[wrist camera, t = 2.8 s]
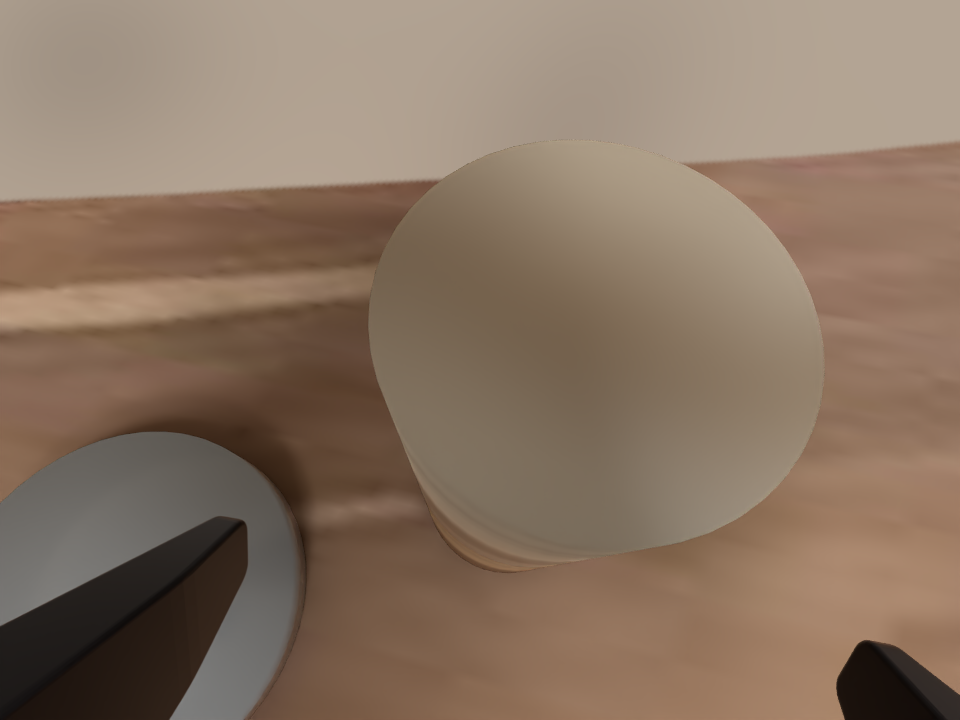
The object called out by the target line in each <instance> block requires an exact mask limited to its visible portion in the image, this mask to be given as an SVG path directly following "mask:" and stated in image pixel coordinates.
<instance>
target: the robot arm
mask: <svg viewBox="0 0 960 720" xmlns="http://www.w3.org/2000/svg"><path fill="white" fill-rule="evenodd" d="M247 568H248V530H247V525H246V523H245V521H243V520H241V519H236V518H231V517H225V516H216V517H214V518H211V519H209V520H207V521H205V522H203V523H201V524H200V525H198V526H196V527H194V528H192V529H190V530H188V531H186V532H184V533H182V534H180V535H178V536H176V537H174V538H172V539H170V540H168V541H166V542H164V543H162V544H160V545H158V546H156V547H154V548H152V549H150V550H148V551H146V552H145V553H143V554H141V555H139V556H137V557H135V558H133V559H131V560H129V561H127V562H125V563H123V564H121V565H119V566H117V567H115V568H113V569H111V570H109V571H107V572H105V573H103V574H101V575H99V576H97V577H95V578H93V579H91V580H89V581H88V582H86V583H84V584H82V585H80V586H78V587H76V588H74V589H72V590H70V591H68V592H66V593H64V594H62V595H60V596H58V597H56V598H54V599H52V600H50V601H48V602H46V603H44V604H42V605H40V606H38V607H36V608H34V609H33V610H31V611H29V612H27V613H25V614H23V615H21V616H19V617H17V618H15V619H13V620H11V621H9V622H7V623H5V624H3V625H1V626H0V720H170V718H171V717H172V715H173V713H174V712H175V710H176V709H177V707H178V705H179V704H180V702H181V701H182V699H183V697H184V695H185V694H186V692H187V690H188V689H189V687H190V685H191V684H192V682H193V680H194V678H195V676H196V674H197V672H198V670H199V668H200V667H201V665H202V663H203V661H204V659H205V657H206V655H207V653H208V651H209V649H210V647H211V645H212V643H213V641H214V639H215V636H216V634H217V632H218V630H219V628H220V626H221V624H222V622H223V620H224V618H225V616H226V614H227V612H228V610H229V608H230V606H231V604H232V602H233V600H234V598H235V596H236V594H237V592H238V590H239V588H240V586H241V584H242V582H243V580H244V578H245V575H246V572H247ZM836 690H837V696H838V700H839V703H840V706H841V709H842V712H843V715H844V719H845V720H960V695H959V694H958V693H956V692H955V691H954V690H952V689H951V688H950V687H949V686H947V685H946V684H945V683H943V682H942V681H941V680H940V679H938V678H937V677H936V676H934V675H933V674H932V673H931V672H929V671H928V670H927V669H926V668H924V667H923V666H922V665H920V664H919V663H918V662H917V661H915V660H914V659H913V658H911V657H910V656H909V655H908V654H906V653H905V652H904V651H902V650H901V649H900V648H898V647H896V646H894V645H891V644H886V643H881V642H875V641H870V640H864V641H862V642H860V643H858V644H857V646H856V647H855V649H854V651H853V652H852V654H851V656H850V657H849V659H848V661H847V662H846V664H845V666H844V667H843V669H842V671H841V672H840V674H839V676H838V678H837V683H836Z"/></svg>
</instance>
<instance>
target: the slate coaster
mask: <svg viewBox="0 0 960 720" xmlns="http://www.w3.org/2000/svg"><path fill="white" fill-rule="evenodd" d="M216 516H225V517H231V518H236V519H241V520H243V521H245V523H246V525H247V530H248V568H247V572H246V575H245V578H244V580H243V582H242V584H241V586H240V588H239V590H238V592H237V594H236V596H235V598H234V600H233V602H232V604H231V606H230V608H229V610H228V612H227V614H226V616H225V618H224V620H223V622H222V624H221V626H220V628H219V630H218V632H217V634H216V636H215V639H214V641H213V643H212V645H211V647H210V649H209V651H208V653H207V655H206V657H205V659H204V661H203V663H202V665H201V667H200V668H199V670H198V672H197V674H196V676H195V678H194V680H193V682H192V684H191V685H190V687H189V689H188V690H187V692H186V694H185V695H184V697H183V699H182V701H181V702H180V704H179V705H178V707H177V709H176V710H175V712H174V713H173V715H172V717H171V718H170V720H249V718H250V717H251V716H252V715H253V714H254V712H255V711H256V710H257V708H258V707H259V706H260V704H261V703H262V702H263V700H264V699H265V698H266V697H267V695H268V693H269V692H270V690H271V688H272V687H273V685H274V683H275V682H276V680H277V678H278V677H279V675H280V673H281V671H282V669H283V667H284V665H285V663H286V661H287V658H288V656H289V654H290V652H291V650H292V647H293V644H294V641H295V638H296V635H297V632H298V629H299V625H300V620H301V616H302V611H303V607H304V599H305V588H306V561H305V554H304V548H303V541H302V538H301V534H300V531H299V528H298V524H297V521H296V519H295V517H294V515H293V513H292V510H291V508H290V506H289V504H288V503H287V501H286V500H285V498H284V497H283V495H282V493H281V492H280V490H279V489H278V488H277V487H276V486H275V485H274V483H273V482H272V481H271V480H270V479H269V478H268V477H267V476H266V475H265V474H264V473H262V472H261V471H260V470H259V469H258V468H256V467H255V466H254V465H252V464H251V463H249V462H247V461H246V460H244V459H242V458H241V457H239V456H237V455H236V454H234V453H232V452H230V451H229V450H227V449H225V448H223V447H222V446H220V445H217V444H215V443H212V442H210V441H208V440H205V439H203V438H199V437H195V436H191V435H187V434H181V433H172V432H140V433H133V434H125V435H120V436H116V437H112V438H108V439H104V440H101V441H98V442H95V443H93V444H90V445H87V446H85V447H82V448H79V449H77V450H75V451H73V452H71V453H69V454H67V455H65V456H63V457H61V458H59V459H57V460H56V461H54V462H53V463H51V464H49V465H48V466H46V467H45V468H43V469H41V470H40V471H38V472H37V473H36V474H34V475H33V476H32V477H30V478H29V479H28V480H26V481H25V482H24V483H22V484H21V485H20V486H18V487H17V488H16V489H15V490H14V491H13V492H12V493H11V494H10V495H9V496H8V497H6V498H5V499H4V500H3V501H2V502H1V503H0V626H1V625H3V624H5V623H7V622H9V621H11V620H13V619H15V618H17V617H19V616H21V615H23V614H25V613H27V612H29V611H31V610H33V609H34V608H36V607H38V606H40V605H42V604H44V603H46V602H48V601H50V600H52V599H54V598H56V597H58V596H60V595H62V594H64V593H66V592H68V591H70V590H72V589H74V588H76V587H78V586H80V585H82V584H84V583H86V582H88V581H89V580H91V579H93V578H95V577H97V576H99V575H101V574H103V573H105V572H107V571H109V570H111V569H113V568H115V567H117V566H119V565H121V564H123V563H125V562H127V561H129V560H131V559H133V558H135V557H137V556H139V555H141V554H143V553H145V552H146V551H148V550H150V549H152V548H154V547H156V546H158V545H160V544H162V543H164V542H166V541H168V540H170V539H172V538H174V537H176V536H178V535H180V534H182V533H184V532H186V531H188V530H190V529H192V528H194V527H196V526H198V525H200V524H201V523H203V522H205V521H207V520H209V519H211V518H214V517H216Z"/></svg>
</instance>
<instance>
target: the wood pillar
mask: <svg viewBox="0 0 960 720" xmlns="http://www.w3.org/2000/svg"><path fill="white" fill-rule="evenodd" d="M368 329H369V341H370V352H371V356H372V361H373V365H374V369H375V374H376V378H377V381H378V384H379V386H380V389H381V391H382V394H383V396H384V399H385V402H386V404H387V407H388V409H389V412H390V414H391V417H392V419H393V422H394V424H395V427H396V429H397V432H398V434H399V437H400V439H401V442H402V444H403V447H404V449H405V452H406V454H407V456H408V459H409V461H410V464H411V466H412V469H413V471H414V474H415V476H416V479H417V481H418V484H419V486H420V489H421V491H422V494H423V496H424V499H425V501H426V504H427V506H428V509H429V511H430V514H431V516H432V519H433V521H434V524H435V526H436V528H437V530H438V532H439V533H440V535H441V537H442V538H443V539H444V541H445V542H446V543H447V545H448V546H449V547H450V548H451V549H452V550H453V551H454V552H455V553H456V554H458V555H459V556H460V557H461V558H463V559H464V560H466V561H468V562H469V563H471V564H473V565H475V566H477V567H480V568H482V569H486V570H489V571H493V572H502V573H516V572H521V571H527V570H533V569H538V568H544V567H549V566H555V565H560V564H566V563H571V562H577V561H582V560H588V559H593V558H599V557H604V556H610V555H615V554H621V553H626V552H632V551H637V550H643V549H648V548H654V547H659V546H665V545H670V544H676V543H680V542H683V541H686V540H689V539H692V538H695V537H698V536H701V535H704V534H707V533H710V532H712V531H714V530H716V529H718V528H720V527H722V526H724V525H726V524H728V523H730V522H732V521H734V520H736V519H738V518H739V517H741V516H742V515H744V514H745V513H746V512H748V511H749V510H750V509H752V508H753V507H754V506H756V505H757V504H759V503H760V502H761V501H763V500H764V499H765V498H766V497H767V496H768V495H769V494H770V493H771V492H772V491H773V490H774V489H775V488H776V487H777V486H778V485H779V484H780V483H781V482H782V481H783V480H784V478H785V477H786V476H787V474H788V473H789V471H790V470H791V469H792V467H793V466H794V464H795V463H796V461H797V460H798V459H799V457H800V456H801V454H802V452H803V450H804V448H805V446H806V444H807V441H808V439H809V437H810V435H811V433H812V431H813V429H814V425H815V422H816V418H817V415H818V411H819V408H820V405H821V399H822V391H823V383H824V347H823V341H822V335H821V329H820V324H819V320H818V316H817V313H816V310H815V307H814V304H813V301H812V297H811V295H810V293H809V291H808V288H807V286H806V284H805V282H804V280H803V278H802V275H801V273H800V271H799V270H798V268H797V266H796V265H795V263H794V262H793V260H792V258H791V257H790V255H789V254H788V252H787V250H786V249H785V248H784V246H783V245H782V244H781V242H780V241H779V240H778V239H777V237H776V236H775V235H774V234H773V232H772V231H771V230H770V229H769V227H768V226H767V225H766V224H765V223H764V222H763V221H762V220H761V219H760V218H759V217H758V216H757V215H756V214H755V213H754V212H753V211H752V210H751V209H750V208H748V207H747V206H746V205H745V204H744V203H742V202H741V201H740V200H739V199H738V198H736V197H735V196H734V195H733V194H732V193H730V192H729V191H727V190H726V189H724V188H723V187H721V186H720V185H718V184H717V183H715V182H714V181H712V180H711V179H709V178H708V177H706V176H704V175H702V174H700V173H698V172H697V171H695V170H693V169H691V168H689V167H687V166H685V165H683V164H681V163H678V162H676V161H673V160H671V159H668V158H666V157H664V156H661V155H658V154H655V153H652V152H648V151H645V150H642V149H639V148H635V147H630V146H625V145H620V144H615V143H610V142H601V141H591V140H554V141H543V142H535V143H530V144H525V145H519V146H514V147H511V148H507V149H504V150H501V151H498V152H495V153H492V154H489V155H486V156H484V157H482V158H480V159H477V160H475V161H473V162H471V163H468V164H467V165H465V166H463V167H462V168H460V169H458V170H456V171H455V172H453V173H451V174H450V175H448V176H446V177H445V178H444V179H442V180H441V181H440V182H439V183H437V184H436V185H435V186H433V187H432V188H431V189H430V190H428V191H427V192H426V193H425V194H424V195H423V196H422V197H421V198H420V199H419V200H418V201H417V202H416V203H415V204H414V205H413V206H412V207H411V208H410V210H409V211H408V212H407V214H406V215H405V216H404V218H403V219H402V220H401V222H400V223H399V224H398V226H397V227H396V229H395V230H394V232H393V234H392V236H391V238H390V239H389V241H388V243H387V245H386V247H385V248H384V251H383V253H382V256H381V259H380V261H379V264H378V267H377V269H376V272H375V276H374V281H373V285H372V290H371V295H370V303H369V318H368Z"/></svg>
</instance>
